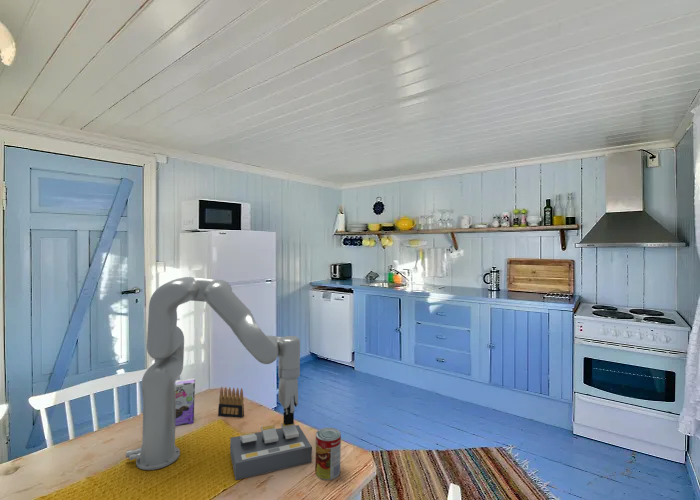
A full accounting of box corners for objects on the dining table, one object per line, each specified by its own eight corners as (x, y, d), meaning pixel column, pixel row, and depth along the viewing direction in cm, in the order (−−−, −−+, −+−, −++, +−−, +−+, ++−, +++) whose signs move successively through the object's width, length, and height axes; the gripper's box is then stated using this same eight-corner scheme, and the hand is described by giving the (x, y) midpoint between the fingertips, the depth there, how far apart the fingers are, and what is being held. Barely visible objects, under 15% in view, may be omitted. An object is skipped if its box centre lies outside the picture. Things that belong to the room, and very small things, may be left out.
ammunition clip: (244, 416, 147) (244, 387, 147) (242, 418, 145) (242, 389, 145) (220, 414, 148) (220, 385, 148) (217, 416, 146) (218, 387, 146)
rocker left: (242, 443, 112) (242, 438, 112) (240, 439, 118) (240, 434, 118) (256, 440, 114) (256, 435, 114) (253, 436, 120) (253, 432, 120)
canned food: (323, 461, 115) (324, 425, 115) (344, 469, 111) (345, 431, 112) (310, 475, 108) (310, 436, 108) (332, 483, 104) (332, 442, 105)
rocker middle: (264, 443, 115) (265, 440, 114) (261, 430, 121) (261, 426, 121) (278, 440, 116) (278, 437, 116) (273, 427, 123) (274, 424, 123)
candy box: (154, 429, 134) (155, 386, 134) (156, 422, 140) (157, 381, 140) (193, 423, 139) (194, 382, 140) (194, 417, 145) (195, 377, 145)
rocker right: (285, 439, 118) (286, 435, 117) (281, 426, 124) (281, 423, 124) (298, 436, 119) (298, 433, 119) (293, 424, 126) (293, 420, 125)
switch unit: (235, 480, 105) (235, 459, 105) (230, 452, 120) (230, 433, 120) (311, 461, 115) (311, 442, 115) (298, 438, 129) (298, 421, 130)
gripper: (274, 366, 130) (273, 416, 130) (283, 380, 116) (283, 436, 116) (293, 364, 133) (293, 412, 133) (305, 377, 119) (305, 431, 119)
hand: (288, 423), depth 124 cm, fingers closed
